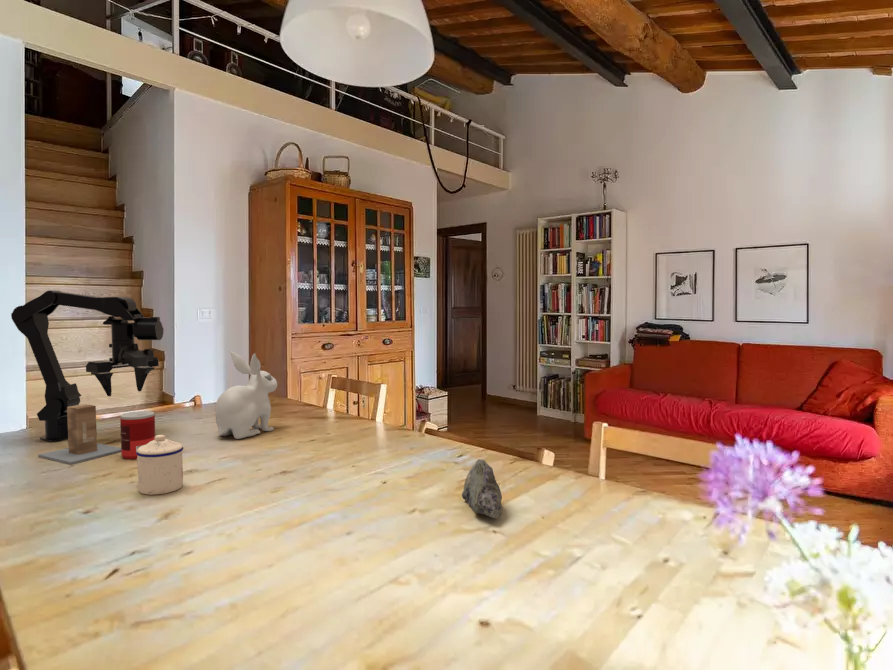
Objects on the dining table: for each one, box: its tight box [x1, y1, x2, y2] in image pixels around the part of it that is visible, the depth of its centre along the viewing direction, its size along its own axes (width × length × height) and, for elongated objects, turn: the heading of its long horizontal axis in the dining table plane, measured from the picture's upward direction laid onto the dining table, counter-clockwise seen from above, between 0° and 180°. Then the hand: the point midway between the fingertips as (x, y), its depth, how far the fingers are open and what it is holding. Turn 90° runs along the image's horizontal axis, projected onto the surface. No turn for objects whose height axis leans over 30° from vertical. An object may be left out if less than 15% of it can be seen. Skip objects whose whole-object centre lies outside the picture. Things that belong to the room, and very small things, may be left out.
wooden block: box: [67, 403, 98, 455], centre depth 148 cm, size 5×5×12 cm
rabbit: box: [215, 350, 278, 440], centre depth 171 cm, size 12×21×25 cm, turn 148°
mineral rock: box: [461, 458, 503, 519], centre depth 111 cm, size 13×11×10 cm
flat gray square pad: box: [37, 442, 121, 466], centre depth 148 cm, size 14×14×1 cm
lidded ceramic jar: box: [136, 434, 184, 496], centre depth 123 cm, size 12×9×12 cm
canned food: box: [119, 410, 156, 460], centre depth 147 cm, size 8×8×11 cm
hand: (124, 393), depth 164 cm, fingers open, 9 cm apart
